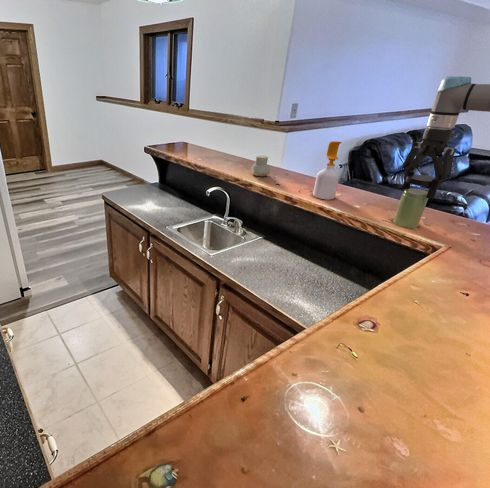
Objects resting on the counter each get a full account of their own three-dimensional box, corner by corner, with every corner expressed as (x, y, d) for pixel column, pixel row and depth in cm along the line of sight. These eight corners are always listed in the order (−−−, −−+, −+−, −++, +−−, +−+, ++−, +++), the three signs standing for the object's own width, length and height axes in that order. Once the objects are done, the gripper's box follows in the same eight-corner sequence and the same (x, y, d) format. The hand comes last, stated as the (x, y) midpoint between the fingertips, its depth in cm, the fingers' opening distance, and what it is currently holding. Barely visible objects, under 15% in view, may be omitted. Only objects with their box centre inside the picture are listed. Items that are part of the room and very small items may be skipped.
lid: (421, 179, 128) (423, 173, 127) (443, 186, 120) (445, 180, 119) (399, 179, 127) (400, 174, 126) (419, 187, 119) (421, 181, 118)
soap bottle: (314, 198, 154) (326, 142, 143) (311, 192, 162) (323, 138, 151) (335, 200, 153) (350, 143, 142) (332, 194, 160) (345, 139, 149)
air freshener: (269, 178, 183) (272, 159, 178) (253, 177, 183) (256, 158, 179) (265, 172, 193) (267, 154, 188) (250, 172, 193) (252, 154, 188)
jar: (418, 223, 131) (430, 191, 126) (417, 229, 126) (429, 196, 120) (394, 217, 136) (405, 186, 130) (391, 224, 130) (402, 191, 124)
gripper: (402, 124, 124) (383, 185, 134) (464, 133, 105) (438, 204, 115) (418, 123, 125) (399, 184, 135) (482, 132, 107) (455, 202, 117)
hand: (417, 193), depth 125 cm, fingers closed on lid, 9 cm apart
